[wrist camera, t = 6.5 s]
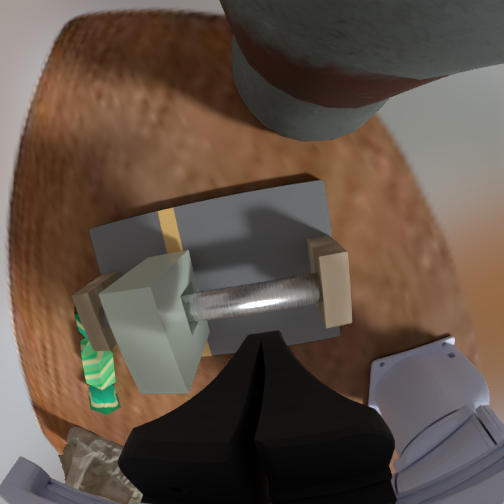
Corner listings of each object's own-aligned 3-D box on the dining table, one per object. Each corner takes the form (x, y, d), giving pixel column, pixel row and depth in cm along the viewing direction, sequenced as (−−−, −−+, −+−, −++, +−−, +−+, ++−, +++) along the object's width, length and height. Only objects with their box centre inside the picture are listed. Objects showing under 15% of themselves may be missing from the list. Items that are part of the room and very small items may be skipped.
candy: (74, 297, 22) (74, 321, 18) (109, 297, 23) (114, 321, 20) (87, 390, 25) (92, 417, 21) (115, 388, 26) (122, 414, 23)
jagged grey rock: (67, 415, 27) (24, 491, 13) (174, 464, 29) (154, 552, 15) (75, 454, 32) (47, 512, 18) (158, 490, 34) (143, 554, 19)
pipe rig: (320, 179, 19) (342, 179, 14) (337, 329, 22) (355, 370, 16) (95, 227, 21) (53, 241, 15) (136, 353, 23) (111, 390, 18)
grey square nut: (188, 249, 18) (150, 287, 12) (209, 331, 20) (188, 393, 13) (148, 257, 19) (98, 294, 12) (172, 335, 20) (140, 393, 14)
